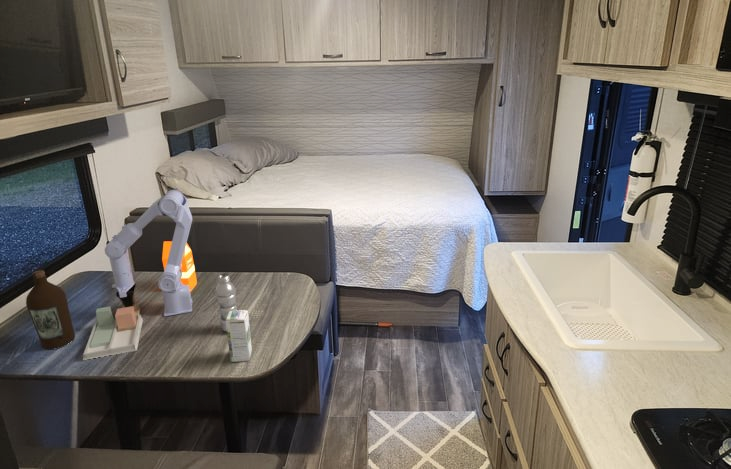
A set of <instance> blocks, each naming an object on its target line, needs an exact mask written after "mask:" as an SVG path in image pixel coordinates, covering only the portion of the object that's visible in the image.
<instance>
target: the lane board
mask: <svg viewBox="0 0 731 469" xmlns="http://www.w3.org/2000/svg"><path fill="white" fill-rule="evenodd" d="M143 320H144V319H143V317H142V314H140V313H139V315H138V320H137V324H136V329H131V330H125V331H120V332H118V330H117V329H118V326H117V322H116V324H115V327H114V331H113V334H112V338H111V341H110V344H109V345H104V346H99V347H93V348H91V346H90V345H91V342H92V339H93V336H94V333H95V331H96V328H97V325H98V321H95V322H94V324H93V327H92V329H91V333H90V335H89V338H88V341H87V344H86V346H85V349H84V351H83V354H82V356H83V357H82V360H86V361H88V360H87V359H91V360H94V359H93V358H96V359H99V358H98V357H101V358H105V357H104V356H107V357H110V356H109V355H112V356H116V354H117V355H121V353H122V354H126V352H127V353H132V352H137V351H138V346H139V341H140V336H141V332H142V326H143Z"/></svg>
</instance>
